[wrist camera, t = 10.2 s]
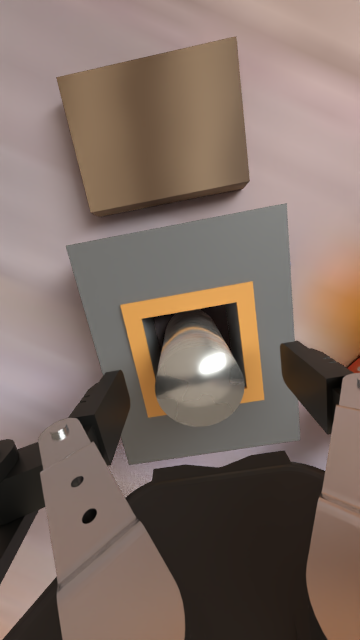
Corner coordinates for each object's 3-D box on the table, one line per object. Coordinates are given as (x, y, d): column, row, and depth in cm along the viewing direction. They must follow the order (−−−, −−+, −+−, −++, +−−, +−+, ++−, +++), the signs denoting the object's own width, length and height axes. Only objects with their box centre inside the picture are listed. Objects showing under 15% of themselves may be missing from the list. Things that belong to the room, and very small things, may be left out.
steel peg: (212, 304, 17) (239, 339, 10) (219, 352, 18) (248, 419, 11) (161, 313, 18) (146, 354, 10) (170, 361, 19) (164, 432, 11)
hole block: (260, 217, 16) (288, 202, 12) (276, 404, 20) (301, 442, 15) (92, 249, 16) (64, 245, 12) (139, 425, 20) (128, 467, 16)
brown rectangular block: (230, 60, 14) (236, 36, 12) (243, 188, 15) (249, 180, 14) (69, 96, 14) (56, 77, 13) (99, 217, 16) (90, 212, 14)
